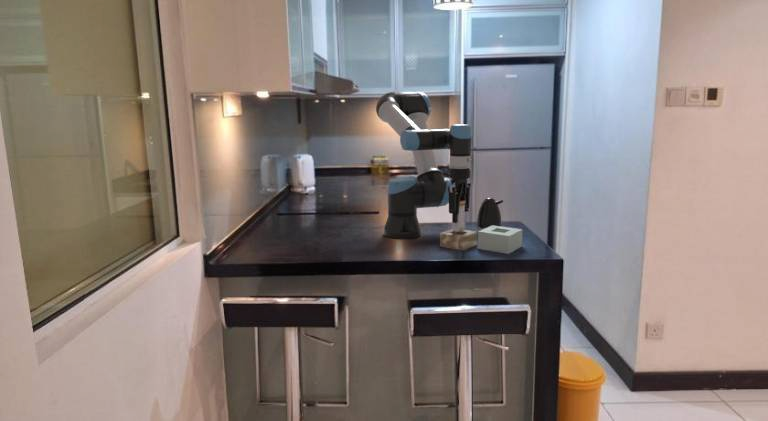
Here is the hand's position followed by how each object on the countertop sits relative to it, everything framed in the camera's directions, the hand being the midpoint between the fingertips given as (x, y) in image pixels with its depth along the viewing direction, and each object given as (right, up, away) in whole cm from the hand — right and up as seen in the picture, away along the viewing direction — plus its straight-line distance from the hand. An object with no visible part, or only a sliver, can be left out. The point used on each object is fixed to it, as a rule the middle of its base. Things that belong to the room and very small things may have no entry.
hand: (458, 229), depth 193 cm
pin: (0, -6, +1) cm, 6 cm away
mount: (0, -6, +1) cm, 6 cm away
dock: (+15, -7, -2) cm, 16 cm away
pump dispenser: (+15, -3, +17) cm, 23 cm away
